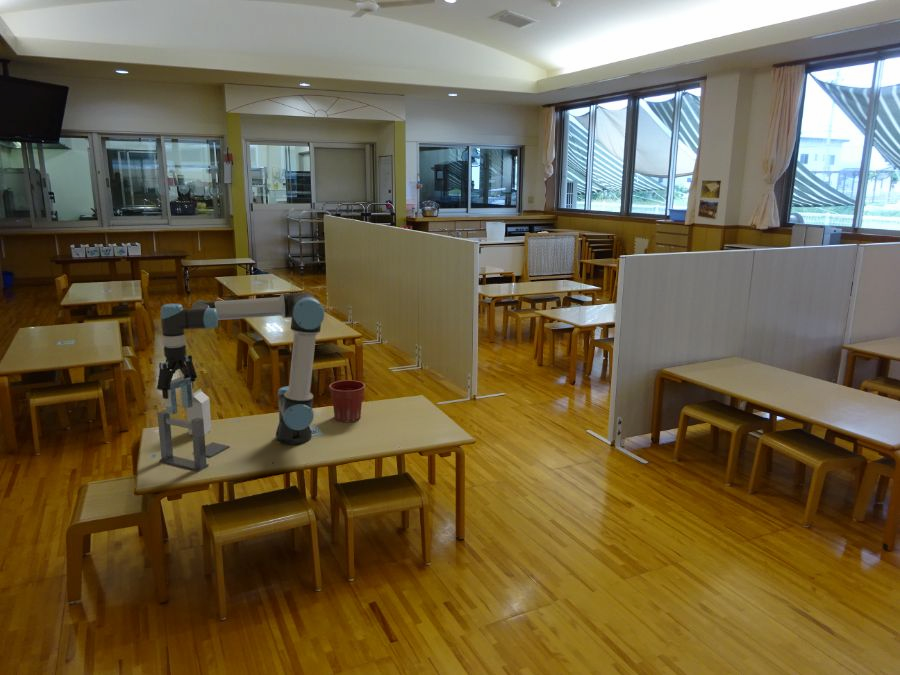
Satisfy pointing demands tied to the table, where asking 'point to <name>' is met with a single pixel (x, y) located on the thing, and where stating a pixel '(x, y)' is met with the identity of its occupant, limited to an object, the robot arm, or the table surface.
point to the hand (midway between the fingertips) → (179, 401)
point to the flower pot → (347, 399)
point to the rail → (166, 442)
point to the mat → (214, 449)
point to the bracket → (185, 392)
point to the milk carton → (200, 410)
